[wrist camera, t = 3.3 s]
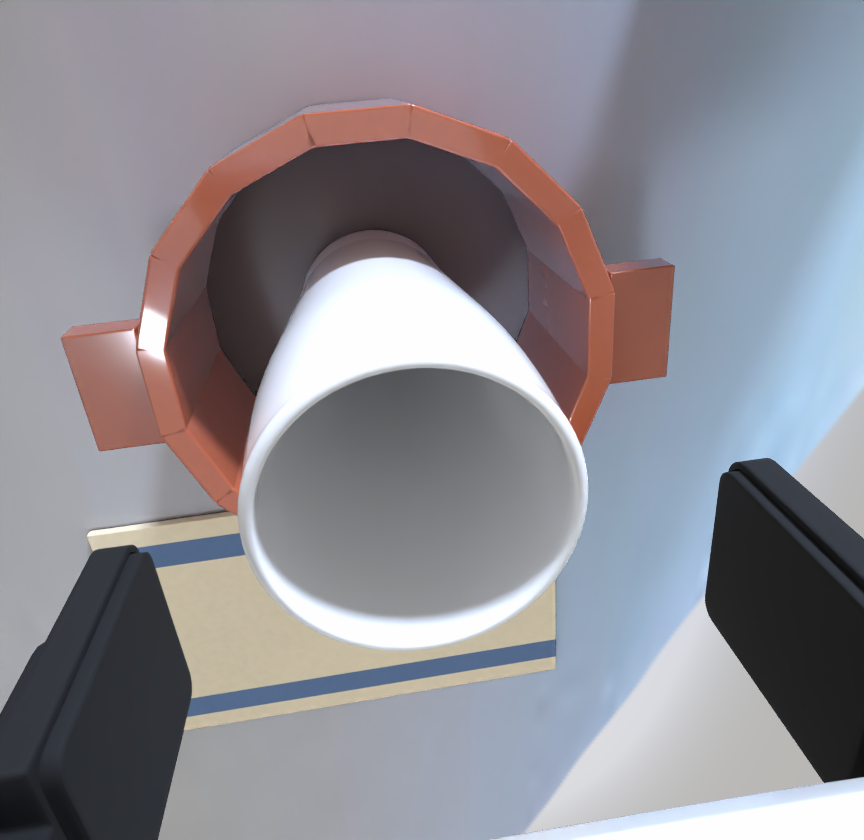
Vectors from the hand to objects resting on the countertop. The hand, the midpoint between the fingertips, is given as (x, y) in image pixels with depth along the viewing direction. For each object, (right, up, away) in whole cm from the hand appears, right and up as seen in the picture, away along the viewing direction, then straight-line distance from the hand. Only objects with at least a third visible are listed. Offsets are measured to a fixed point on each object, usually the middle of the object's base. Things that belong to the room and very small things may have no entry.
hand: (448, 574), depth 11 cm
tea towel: (-4, -6, +21) cm, 22 cm away
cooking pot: (-2, +7, +15) cm, 17 cm away
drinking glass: (-2, +7, +15) cm, 17 cm away
